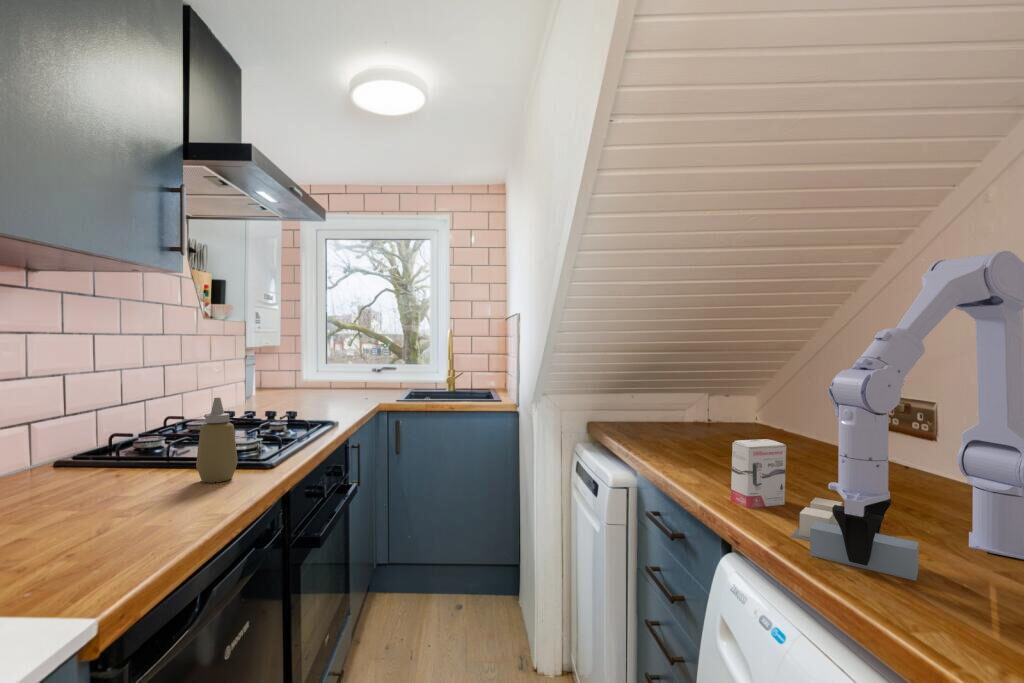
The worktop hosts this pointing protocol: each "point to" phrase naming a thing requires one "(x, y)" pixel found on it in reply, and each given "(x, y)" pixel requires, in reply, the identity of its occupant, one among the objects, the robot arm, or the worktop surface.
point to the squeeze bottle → (216, 446)
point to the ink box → (758, 473)
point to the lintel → (885, 553)
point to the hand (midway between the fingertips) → (862, 555)
